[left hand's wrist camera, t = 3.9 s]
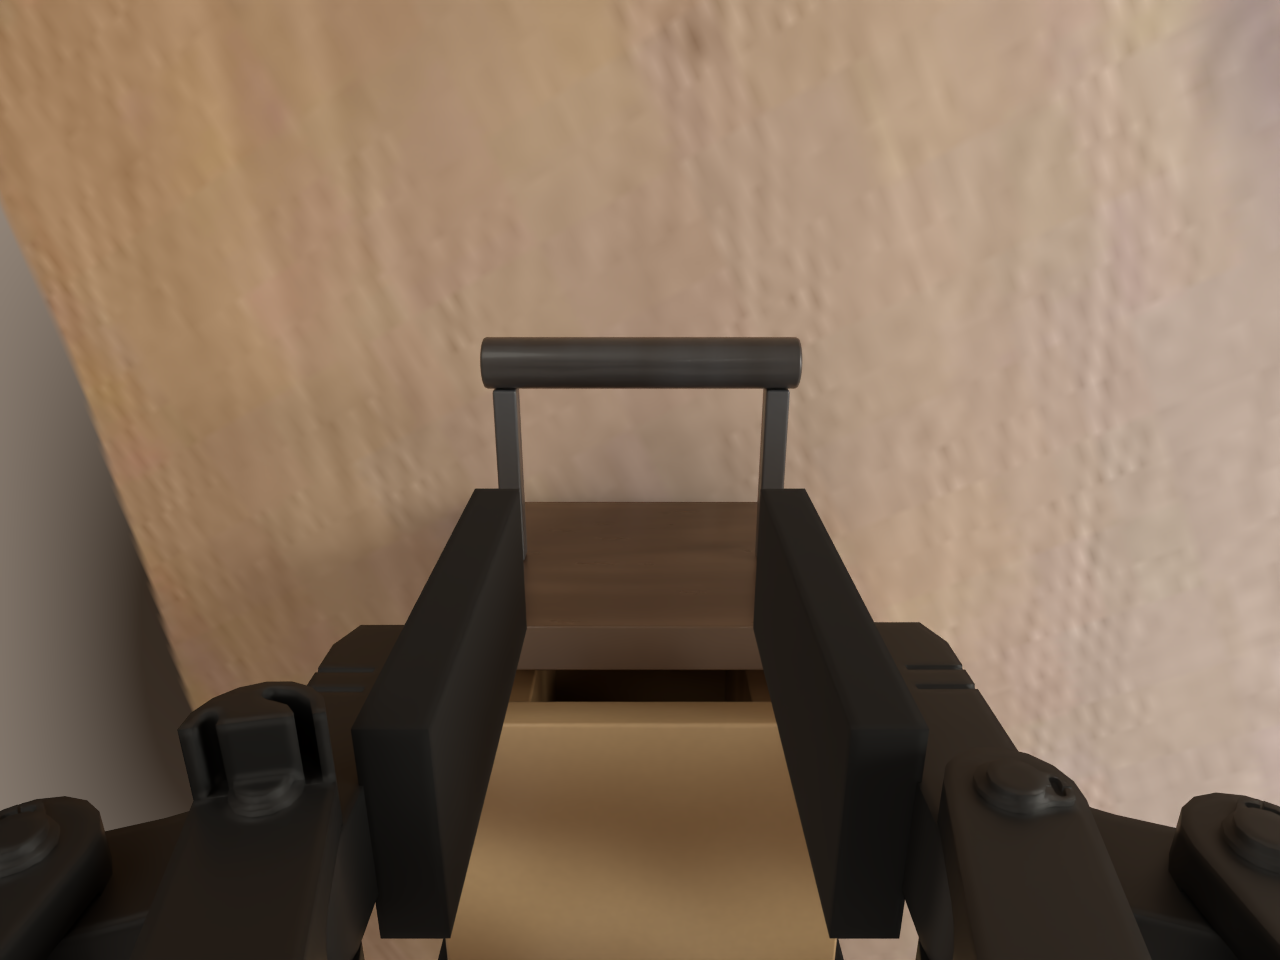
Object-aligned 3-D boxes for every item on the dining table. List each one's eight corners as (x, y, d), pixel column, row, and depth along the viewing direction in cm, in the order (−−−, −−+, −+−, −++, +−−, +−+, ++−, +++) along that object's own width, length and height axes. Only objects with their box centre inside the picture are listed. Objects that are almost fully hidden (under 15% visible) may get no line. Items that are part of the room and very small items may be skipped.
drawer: (490, 311, 25) (426, 371, 17) (791, 311, 25) (856, 371, 17) (525, 883, 32) (491, 1093, 25) (756, 883, 32) (790, 1093, 25)
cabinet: (492, 545, 28) (421, 725, 19) (790, 545, 28) (861, 724, 19) (517, 925, 34) (472, 1201, 25) (763, 925, 34) (809, 1201, 25)
